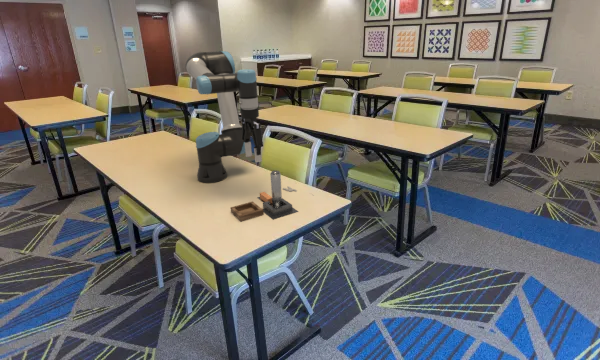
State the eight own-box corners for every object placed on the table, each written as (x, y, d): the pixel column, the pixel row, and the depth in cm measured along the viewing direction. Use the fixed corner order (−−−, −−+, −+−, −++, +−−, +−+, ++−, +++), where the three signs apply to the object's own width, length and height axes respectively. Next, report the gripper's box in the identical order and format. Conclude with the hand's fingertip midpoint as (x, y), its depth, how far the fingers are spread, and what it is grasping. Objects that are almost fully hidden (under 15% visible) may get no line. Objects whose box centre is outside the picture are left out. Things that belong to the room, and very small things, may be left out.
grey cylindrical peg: (271, 208, 149) (268, 171, 143) (279, 206, 151) (277, 169, 145) (275, 212, 146) (273, 174, 140) (284, 209, 148) (282, 172, 142)
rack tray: (231, 213, 147) (230, 207, 146) (253, 207, 152) (252, 201, 151) (241, 223, 139) (240, 216, 138) (263, 216, 144) (263, 209, 143)
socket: (248, 201, 158) (247, 194, 157) (272, 194, 164) (271, 188, 163) (273, 221, 140) (272, 214, 139) (298, 212, 146) (298, 206, 145)
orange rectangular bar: (259, 198, 159) (259, 193, 158) (264, 196, 160) (264, 191, 159) (268, 204, 152) (267, 199, 151) (273, 202, 154) (272, 197, 153)
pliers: (297, 199, 155) (277, 189, 166) (297, 203, 156) (277, 193, 166) (314, 193, 161) (293, 184, 172) (314, 196, 161) (293, 187, 172)
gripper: (231, 105, 156) (236, 154, 165) (252, 113, 139) (256, 167, 147) (246, 103, 160) (250, 151, 168) (269, 110, 143) (272, 163, 151)
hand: (253, 158), depth 158 cm, fingers open, 9 cm apart
